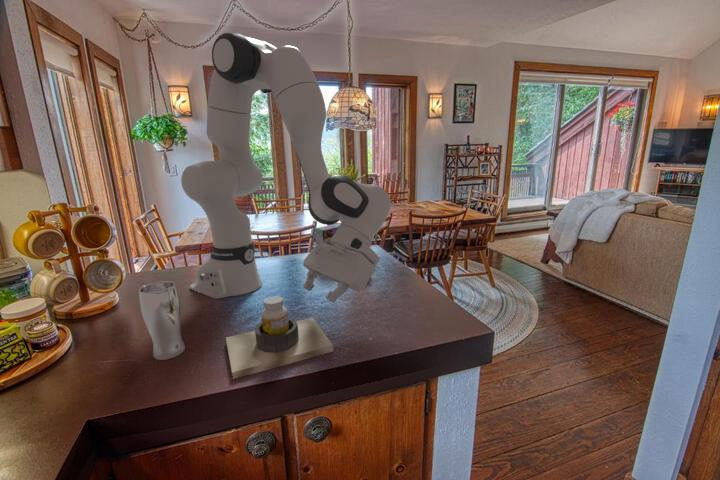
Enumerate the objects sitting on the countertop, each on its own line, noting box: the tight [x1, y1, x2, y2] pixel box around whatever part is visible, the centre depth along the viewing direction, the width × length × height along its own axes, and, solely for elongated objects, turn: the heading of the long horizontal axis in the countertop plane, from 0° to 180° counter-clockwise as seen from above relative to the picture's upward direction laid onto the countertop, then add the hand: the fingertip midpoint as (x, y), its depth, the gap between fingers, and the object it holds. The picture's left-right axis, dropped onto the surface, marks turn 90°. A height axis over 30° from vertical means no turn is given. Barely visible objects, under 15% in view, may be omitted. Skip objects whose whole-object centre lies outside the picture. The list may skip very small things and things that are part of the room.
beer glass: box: [138, 280, 186, 361], centre depth 72 cm, size 7×7×15 cm
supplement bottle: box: [261, 295, 289, 335], centre depth 73 cm, size 5×5×10 cm
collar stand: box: [225, 316, 334, 380], centre depth 74 cm, size 20×14×5 cm
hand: (317, 294), depth 79 cm, fingers open, 8 cm apart
